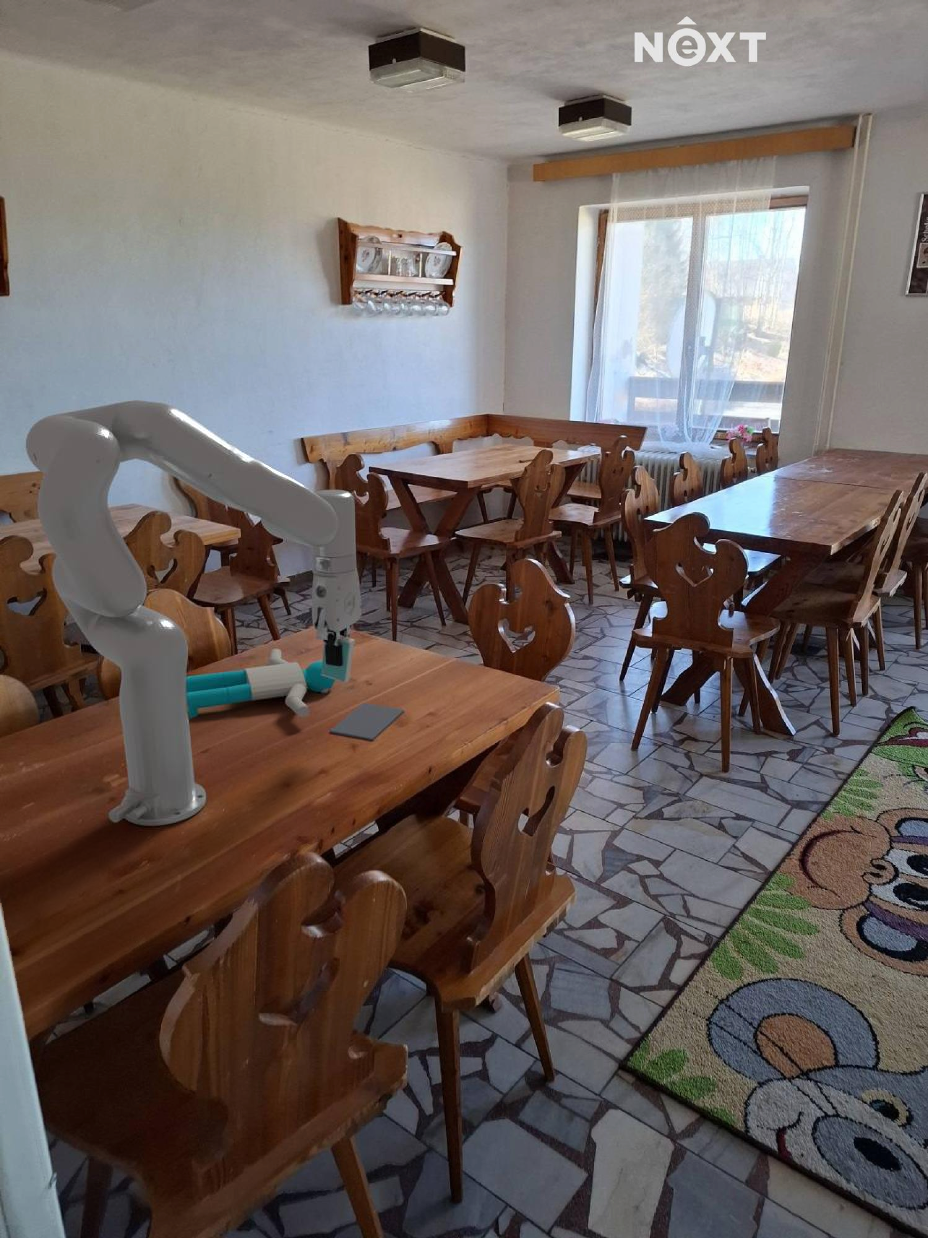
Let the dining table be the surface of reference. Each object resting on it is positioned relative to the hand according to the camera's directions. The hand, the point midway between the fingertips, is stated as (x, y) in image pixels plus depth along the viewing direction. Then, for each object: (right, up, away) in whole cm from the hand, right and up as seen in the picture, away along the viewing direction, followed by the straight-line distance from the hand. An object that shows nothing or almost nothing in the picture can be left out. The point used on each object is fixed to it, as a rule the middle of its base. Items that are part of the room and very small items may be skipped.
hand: (337, 662), depth 151 cm
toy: (-19, -9, +23) cm, 31 cm away
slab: (-1, -3, +1) cm, 3 cm away
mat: (+4, -12, +12) cm, 18 cm away
